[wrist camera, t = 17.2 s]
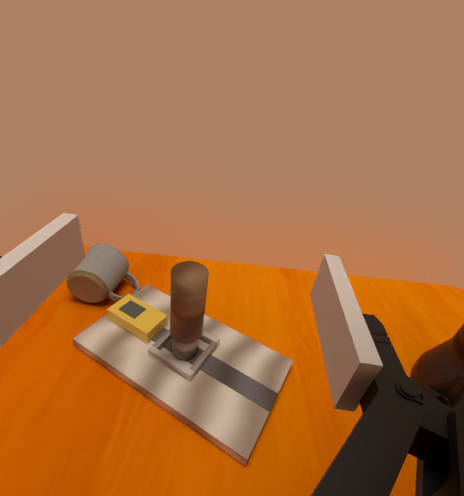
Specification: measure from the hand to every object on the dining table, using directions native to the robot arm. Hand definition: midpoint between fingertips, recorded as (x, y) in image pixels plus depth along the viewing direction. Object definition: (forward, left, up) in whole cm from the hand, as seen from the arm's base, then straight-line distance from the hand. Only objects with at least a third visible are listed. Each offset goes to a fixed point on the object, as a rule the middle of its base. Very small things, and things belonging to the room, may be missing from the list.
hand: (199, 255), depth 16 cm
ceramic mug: (+28, -15, -28) cm, 43 cm away
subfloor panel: (+9, -12, -28) cm, 32 cm away
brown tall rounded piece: (+9, -12, -26) cm, 30 cm away
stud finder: (+18, -12, -26) cm, 34 cm away
